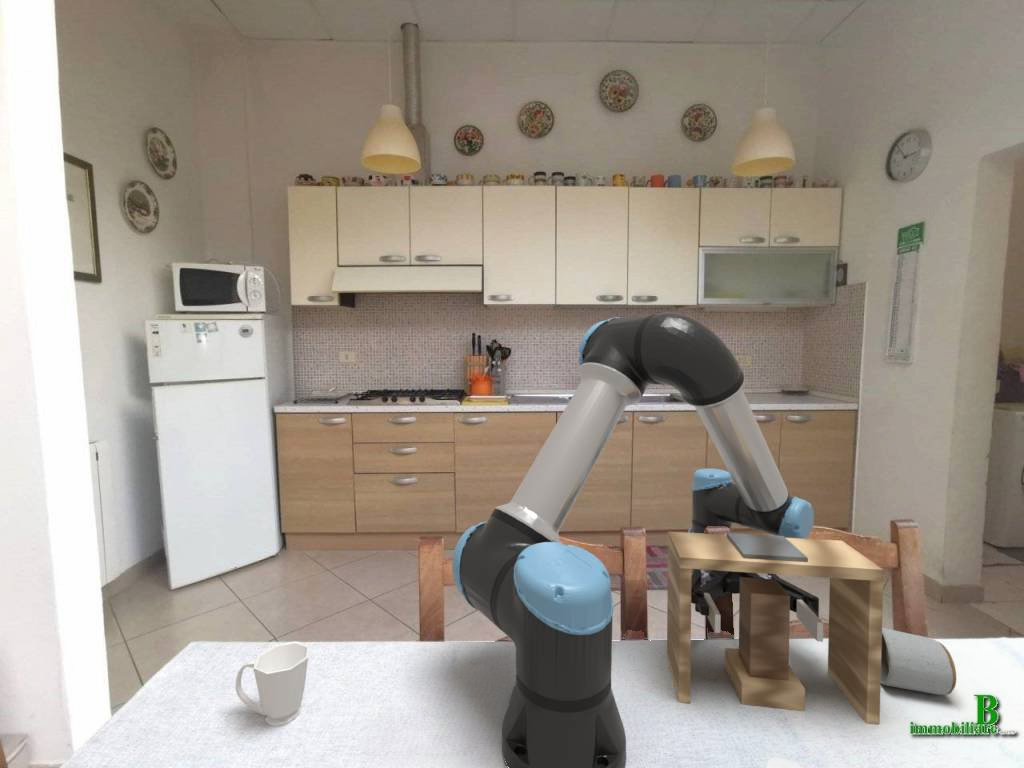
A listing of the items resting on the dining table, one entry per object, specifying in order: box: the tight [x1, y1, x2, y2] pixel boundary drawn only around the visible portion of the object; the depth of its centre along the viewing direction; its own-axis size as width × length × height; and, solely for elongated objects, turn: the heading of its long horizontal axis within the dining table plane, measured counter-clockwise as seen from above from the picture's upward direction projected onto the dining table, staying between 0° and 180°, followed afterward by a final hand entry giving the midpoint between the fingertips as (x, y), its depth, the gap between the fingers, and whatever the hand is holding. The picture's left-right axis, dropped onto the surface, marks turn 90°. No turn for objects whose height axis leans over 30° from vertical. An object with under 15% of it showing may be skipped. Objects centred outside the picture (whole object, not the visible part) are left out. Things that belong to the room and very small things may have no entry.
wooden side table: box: [666, 531, 885, 725], centre depth 67 cm, size 25×10×21 cm, turn 80°
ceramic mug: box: [881, 627, 957, 696], centre depth 69 cm, size 11×8×8 cm
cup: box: [234, 640, 311, 728], centre depth 62 cm, size 7×10×8 cm
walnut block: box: [738, 577, 791, 681], centre depth 67 cm, size 5×5×12 cm
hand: (768, 628), depth 66 cm, fingers open, 13 cm apart
